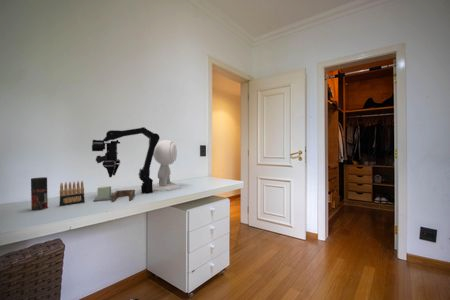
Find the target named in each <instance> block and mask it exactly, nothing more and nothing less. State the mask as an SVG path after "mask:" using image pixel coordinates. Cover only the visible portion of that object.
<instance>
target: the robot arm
mask: <svg viewBox="0 0 450 300" xmlns="http://www.w3.org/2000/svg"><path fill="white" fill-rule="evenodd" d="M139 134H141V135H144V136H145V137H146V138H147V139H148V148H147V152H146V154H145V158H144V159H145V160H144V163H143V165H142V166H143V167H142V168H139V172H138V174H137V175H138V178H139V180H140V181H141V182H142V183H141V185H140V187H141V188H140V192H141V194H151V193H153V192H154V191H153V183H154V180H153V179H152V178H151V177H150V174H151V170H150V167H151V164H152V160H153V158H154V156H153V153H154V149H155V147H156V145H157V143H158V142H160V141H159V140H160V135H159V134H158V133H155V132H153V131H151V130H149V129H148V128H146V127H143V126H142V127H137V128H132V129H124V130H118V129H117V130H113V129H112V130H111V129H110V130H108V131H107V132H106V134H105V137H104V138H103V140H102V139H98V140H97V139H92V145H91V151H92V152H104V150H106V153H104V155H97V156H96V158H95V162H96V163H97V164H100V163H102V167H103V168H104V169H106V171H107V174H108V177H109V178H112V177H113V176H116V174H117V171H118V169H119V167H120V164H121V159H118V153H119V152H118V144H121V142H120V141H119V140H118V139H120V138H123V137H128V136H135V135H139Z"/></svg>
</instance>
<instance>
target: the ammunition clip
mask: <svg viewBox="0 0 450 300" xmlns="http://www.w3.org/2000/svg"><path fill="white" fill-rule="evenodd" d="M71 182H72V181H69V183H67V182H66V181H65V183H62V182H60V185H59V207H65V206H72V205H78V204H79V205H80V204H85V203H86V201H85V200H86V199H85V187H84V181H83V180H81V181H80V182H79V180H77V183H76V182H75V181H73V183H71ZM63 184H64V185H63Z"/></svg>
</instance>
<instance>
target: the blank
mask: <svg viewBox="0 0 450 300" xmlns="http://www.w3.org/2000/svg"><path fill="white" fill-rule="evenodd" d="M111 196H112V186H99V187H97V197H98V199H103V198H110V197H111Z"/></svg>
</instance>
